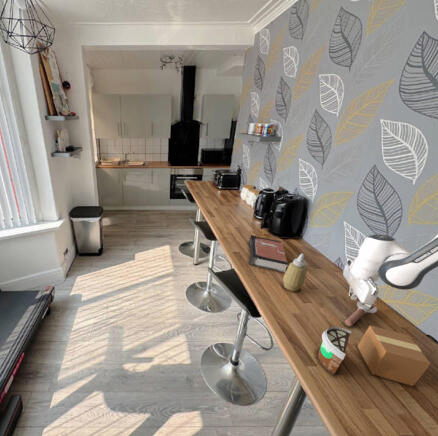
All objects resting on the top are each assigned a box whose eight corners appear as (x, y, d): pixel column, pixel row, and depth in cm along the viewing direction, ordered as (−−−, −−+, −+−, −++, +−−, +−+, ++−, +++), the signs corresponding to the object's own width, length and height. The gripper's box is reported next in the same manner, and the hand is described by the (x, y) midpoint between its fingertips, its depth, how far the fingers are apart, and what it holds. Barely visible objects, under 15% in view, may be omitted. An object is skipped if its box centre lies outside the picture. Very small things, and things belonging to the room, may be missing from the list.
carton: (393, 356, 78) (408, 334, 73) (413, 386, 69) (431, 363, 65) (357, 346, 81) (369, 325, 76) (371, 373, 72) (386, 351, 68)
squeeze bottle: (300, 296, 103) (313, 261, 95) (280, 288, 107) (291, 255, 99) (301, 285, 109) (313, 252, 102) (281, 279, 113) (292, 247, 106)
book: (287, 273, 118) (290, 264, 116) (250, 264, 123) (252, 256, 121) (280, 248, 140) (282, 240, 138) (249, 242, 146) (251, 235, 144)
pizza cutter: (355, 333, 86) (358, 327, 85) (337, 321, 91) (339, 316, 90) (377, 311, 96) (380, 305, 95) (359, 301, 101) (362, 296, 99)
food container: (318, 340, 82) (328, 319, 78) (340, 352, 78) (351, 330, 74) (309, 363, 74) (319, 341, 70) (332, 378, 70) (345, 355, 66)
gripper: (388, 289, 85) (372, 317, 91) (363, 259, 103) (351, 285, 108) (367, 285, 87) (353, 312, 93) (346, 256, 105) (334, 281, 110)
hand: (351, 297), depth 101 cm, fingers closed
